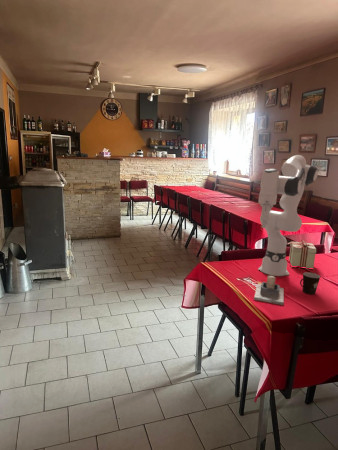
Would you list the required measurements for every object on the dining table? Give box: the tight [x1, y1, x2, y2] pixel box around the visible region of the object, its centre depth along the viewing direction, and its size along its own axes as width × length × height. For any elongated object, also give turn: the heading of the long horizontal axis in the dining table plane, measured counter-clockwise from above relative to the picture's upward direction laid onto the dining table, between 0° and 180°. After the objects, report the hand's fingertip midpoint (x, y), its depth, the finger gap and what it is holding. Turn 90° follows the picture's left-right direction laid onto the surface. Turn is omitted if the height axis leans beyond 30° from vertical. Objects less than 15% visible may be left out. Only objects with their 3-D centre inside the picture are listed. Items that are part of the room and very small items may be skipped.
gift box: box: [286, 239, 317, 269], centre depth 228 cm, size 17×18×17 cm
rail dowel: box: [266, 275, 277, 289], centre depth 174 cm, size 4×4×8 cm
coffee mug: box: [299, 272, 321, 296], centre depth 182 cm, size 12×9×10 cm
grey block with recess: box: [253, 281, 285, 306], centre depth 175 cm, size 20×14×5 cm
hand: (264, 226), depth 176 cm, fingers open, 8 cm apart
